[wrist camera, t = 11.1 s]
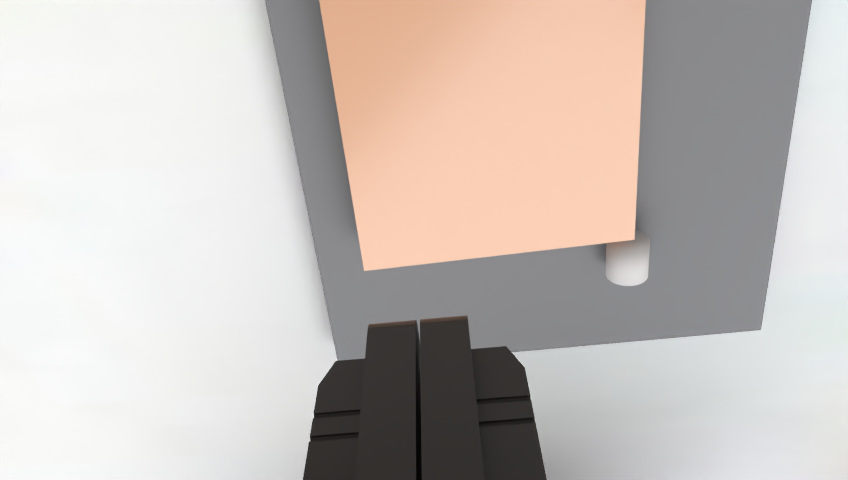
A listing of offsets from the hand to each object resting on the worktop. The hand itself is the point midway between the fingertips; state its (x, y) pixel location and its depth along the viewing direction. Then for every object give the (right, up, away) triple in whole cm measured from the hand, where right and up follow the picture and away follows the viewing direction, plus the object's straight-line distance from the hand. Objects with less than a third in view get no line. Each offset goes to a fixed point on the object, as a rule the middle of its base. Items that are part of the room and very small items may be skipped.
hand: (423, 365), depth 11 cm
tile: (+2, +7, +12) cm, 15 cm away
